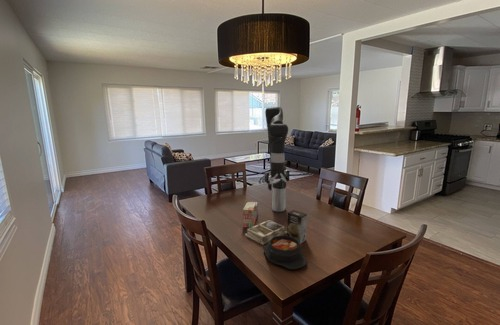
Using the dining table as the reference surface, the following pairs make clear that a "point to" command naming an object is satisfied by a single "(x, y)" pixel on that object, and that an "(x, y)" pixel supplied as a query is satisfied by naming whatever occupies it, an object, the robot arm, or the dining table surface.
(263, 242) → the caddy
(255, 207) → the stack of blocks
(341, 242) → the dining table surface
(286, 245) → the casserole
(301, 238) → the coffee box
